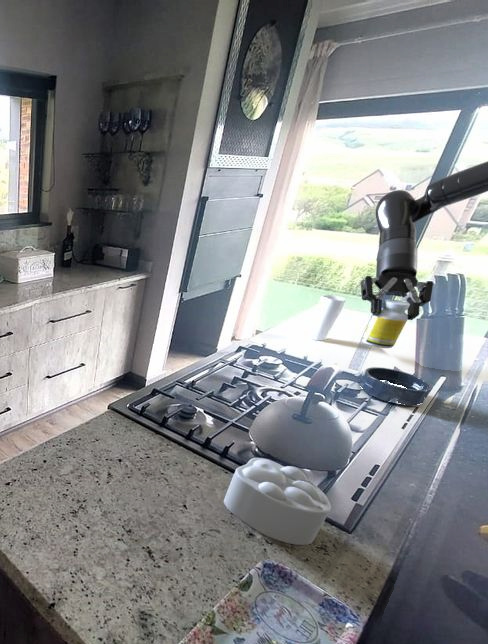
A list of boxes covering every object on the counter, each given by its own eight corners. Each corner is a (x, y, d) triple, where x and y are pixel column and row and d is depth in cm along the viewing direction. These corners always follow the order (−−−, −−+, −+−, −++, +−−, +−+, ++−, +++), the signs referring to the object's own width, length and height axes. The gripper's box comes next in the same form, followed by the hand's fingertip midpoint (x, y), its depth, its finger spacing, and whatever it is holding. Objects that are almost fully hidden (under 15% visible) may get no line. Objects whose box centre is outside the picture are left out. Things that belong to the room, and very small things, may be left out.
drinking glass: (307, 340, 142) (325, 299, 135) (302, 333, 148) (318, 293, 141) (330, 343, 140) (349, 301, 133) (323, 336, 146) (341, 296, 139)
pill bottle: (395, 351, 103) (418, 307, 98) (363, 345, 106) (383, 303, 101) (389, 343, 108) (411, 301, 103) (358, 337, 111) (378, 296, 106)
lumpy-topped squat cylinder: (247, 482, 77) (262, 446, 73) (325, 528, 68) (348, 490, 64) (216, 503, 72) (231, 466, 68) (296, 557, 63) (319, 517, 59)
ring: (428, 398, 107) (438, 382, 105) (413, 413, 101) (424, 396, 98) (366, 378, 117) (374, 363, 115) (349, 390, 110) (357, 374, 108)
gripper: (371, 249, 105) (368, 305, 101) (442, 254, 100) (442, 313, 96) (354, 265, 112) (351, 319, 108) (421, 271, 107) (420, 327, 103)
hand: (394, 316), depth 102 cm, fingers closed on pill bottle, 6 cm apart
